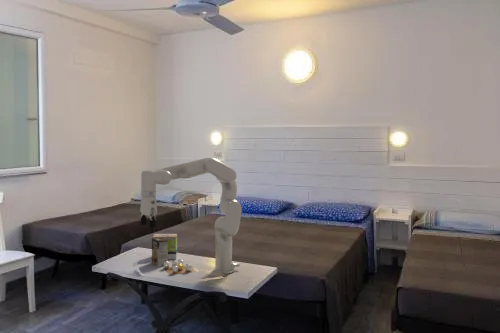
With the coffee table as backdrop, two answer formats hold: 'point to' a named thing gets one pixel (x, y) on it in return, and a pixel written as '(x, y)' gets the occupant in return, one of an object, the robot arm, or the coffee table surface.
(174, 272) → the spacers
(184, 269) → the board
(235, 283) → the coffee table surface
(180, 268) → the brass domed cylinder
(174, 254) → the tea box
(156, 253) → the coffee box
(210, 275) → the coffee table surface
